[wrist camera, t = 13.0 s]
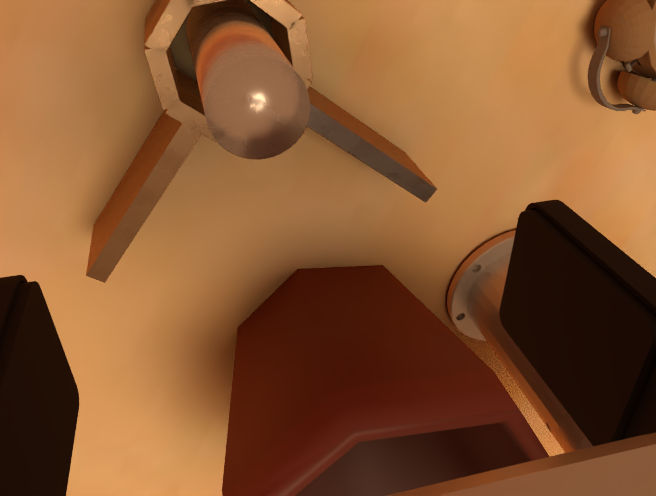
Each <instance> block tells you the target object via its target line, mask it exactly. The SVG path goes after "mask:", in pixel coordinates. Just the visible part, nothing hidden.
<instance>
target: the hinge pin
mask: <svg viewBox="0 0 656 496" xmlns="http://www.w3.org/2000/svg"><path fill="white" fill-rule="evenodd" d="M187 37H188V41H189V46H190V50H191V55H192V59H193V64H194V68H195V73H196V77H197V82H198V86H199V91H200V95H201V100H202V104H203V108H204V113H205V117H206V122H207V125H208V128H209V130H210V132H211V134H212V135H213V137H214V139H215V140H216V141H217V142H218V143H219V144H220V145H221V146H222V147H223V148H224V149H226V150H227V151H229V152H230V153H232V154H234V155H236V156H239V157H242V158H247V159H265V158H270V157H274V156H276V155H279V154H281V153H283V152H284V151H286V150H287V149H289V148H290V147H291V146H292V145H294V144H295V143H296V142H297V140H298V139H299V138H300V137H301V135H302V134H303V132H304V130H305V128H306V126H307V123H308V120H309V115H310V99H309V94H308V91H307V88H306V86H305V84H304V82H303V81H302V79H301V78H300V76H299V75H298V73H297V72H296V71H295V69H294V68H293V66H292V65H291V64H290V62H289V61H288V59H287V58H286V57H285V55H284V54H283V52H282V51H281V49H280V48H279V47H278V45H277V44H276V42H275V41H274V40H273V38H272V37H271V35H270V34H269V33H268V31H267V30H266V28H265V27H264V26H263V24H262V23H261V21H260V20H259V19H258V17H257V16H256V14H255V13H254V11H253V10H252V9H251V7H250V6H249V5H248V4H247V3H246V2H245V1H244V0H224V1H218V2H213V3H208V4H202V5H197V6H194V7H193V8H192V10H191V12H190V14H189V16H188V20H187Z"/></svg>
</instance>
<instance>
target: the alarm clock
mask: <svg viewBox="0 0 656 496" xmlns="http://www.w3.org/2000/svg"><path fill="white" fill-rule="evenodd" d="M594 35H595V39H596V42H597V46H596V49H595V51H594V53H593V56H592V58H591V61H590V65H589V69H588V84H589V89H590V91H591V94H592V96H593V97H594V99H595V100H596V101H597V102H598V103H599V104H601V105H602V106H604V107H607V108H609V109H612V110H615V111H625V110H632V113H634V114H638V113H640V111H641V110H642V111H646V110H644V109H647V110H656V0H607V1H606V2H605V3H604V4H603V5H602V6H601V8H600V9H599V11H598V14H597V16H596V19H595V25H594ZM605 55H606V56H608V57H610V58H611V59H613V60H617V61H624V62H625V64H624V65H625V68H626V70H627V72H625V71H621V73H620V75H619V78H618V84H617V85H618V90H619V92H620V94H621V95H622V96H623V97H624V98H625V99H626V100H627V101H628V102H630V103H631V104H633V105H635V106H633V105H630V104H617V105H612V104H610V103H609V102H607V100H606V99H605V97H604V96H603V93H602V90H601V86H600V70H601V66H602V63H603V60H604V57H605ZM630 71H633V72H635V73H637V74H639V75H641V76H643V77H646V78H651V79H652V80H649V79H646V78H643V77H641V76H638V75H635V74H632V73H629V72H630ZM642 108H643V109H642Z"/></svg>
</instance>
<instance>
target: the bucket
mask: <svg viewBox="0 0 656 496" xmlns="http://www.w3.org/2000/svg"><path fill="white" fill-rule="evenodd" d="M546 457H549V455H548V454H547V452H546V450H545V449H544V447H543V446H542V444H541V443H540V441H539V440H538V438H537V436H536V435H535V433H534V432H533V430H532V429H531V427H530V426H529V424H528V422H527V421H526V419H525V418H524V416H523V415H522V413H521V412H520V410H519V408H518V407H517V405H516V404H515V403H514V401H513V400H512V398H511V397H510V395H509V394H508V392H507V391H506V389H505V388H504V386H503V385H502V383H501V382H500V380H499V379H498V377H497V376H496V374H495V373H494V372H493V371H492V370H491V369H490V368H489V367H488V366H487V365H486V364H485V363H484V362H483V361H482V360H481V359H480V358H479V357H478V356H477V355H476V354H475V353H474V352H473V351H472V350H470V349H469V348H468V347H467V346H466V345H465V344H464V343H463V342H462V341H461V340H460V339H459V338H458V337H457V336H456V335H455V334H454V333H453V332H452V331H451V330H450V329H449V328H448V327H447V326H445V325H444V324H443V323H442V322H441V321H440V320H439V319H438V318H437V317H436V316H435V315H434V314H433V313H432V312H431V311H430V310H429V309H428V308H427V307H426V306H425V305H424V304H423V303H421V302H420V301H419V300H418V299H417V298H416V297H415V296H414V295H413V294H412V293H411V292H410V291H409V290H408V289H407V288H406V287H405V286H404V285H403V284H402V283H401V282H400V281H399V280H398V279H396V278H395V277H394V276H393V275H392V274H391V273H390V272H389V271H388V270H387V269H386V268H385V267H384V266H383V265H377V266H355V267H333V268H311V269H297V270H296V271H295V272H294V273H293V274H292V275H291V276H290V277H289V278H288V279H287V280H286V281H285V282H284V283H283V284H282V285H281V286H280V287H279V288H278V289H277V290H276V291H275V292H274V293H273V294H272V295H271V296H270V297H269V298H268V299H267V300H266V301H265V302H264V303H263V304H262V305H260V306H259V307H258V308H257V309H256V310H255V311H254V312H253V313H252V314H251V315H250V316H249V317H248V318H247V319H246V320H245V321H244V322H243V323H242V324H241V325H240V326H239V327H238V331H237V342H236V352H235V362H234V373H233V383H232V393H231V403H230V414H229V424H228V434H227V445H226V455H225V465H224V475H223V486H222V494H223V496H387V495H392V494H396V493H400V492H404V491H408V490H412V489H416V488H421V487H425V486H429V485H433V484H437V483H441V482H446V481H450V480H454V479H458V478H462V477H466V476H471V475H475V474H479V473H483V472H487V471H491V470H496V469H500V468H504V467H508V466H512V465H517V464H521V463H525V462H529V461H534V460H538V459H542V458H546Z"/></svg>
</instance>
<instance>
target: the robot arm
mask: <svg viewBox="0 0 656 496" xmlns="http://www.w3.org/2000/svg"><path fill="white" fill-rule="evenodd" d="M447 308H448V313H449V315H450V318H451V320H452V321H453V323H454V324H455V326H456V327H457V329H458V330H459V331H460V332H462V333H463V334H464V335H466V336H468V337H470V338H472V339H476V340H480V341H487V342H488V344H489V345H490V347H491V348H492V349H493V351H494V352H495V354H496V355H497V357H498V358H499V359H500V361H501V362H502V364H503V365H504V366H505V368H506V369H507V371H508V372H509V374H510V375H511V376H512V378H513V379H514V381H515V382H516V384H517V385H518V386H519V388H520V389H521V391H522V392H523V393H524V395H525V396H526V398H527V399H528V401H529V402H530V403H531V405H532V406H533V408H534V409H535V411H536V412H537V413H538V415H539V416H540V418H541V419H542V420H543V422H544V423H545V425H546V426H547V428H548V429H549V430H550V432H551V433H552V435H553V436H554V437H555V439H556V440H557V441H558V443H559V444H560V446H561V447H562V449H563V450H564V452H565V453H564V454H559V455H555V456H551V457H546V458H542V459H538V460H534V461H529V462H525V463H521V464H517V465H512V466H508V467H504V468H500V469H496V470H491V471H487V472H483V473H479V474H475V475H471V476H466V477H462V478H458V479H454V480H450V481H446V482H441V483H437V484H433V485H429V486H425V487H421V488H416V489H412V490H408V491H404V492H400V493H396V494H392V495H387V496H656V278H655V277H654V276H652V275H651V274H650V273H649V272H647V271H646V270H645V269H644V268H642V267H641V266H640V265H639V264H638V263H636V262H635V261H634V260H633V259H631V258H630V257H629V256H628V255H627V254H625V253H624V252H623V251H622V250H620V249H619V248H618V247H617V246H616V245H614V244H613V243H612V242H611V241H609V240H608V239H607V238H606V237H604V236H603V235H602V234H601V233H600V232H598V231H597V230H596V229H595V228H593V227H592V226H591V225H590V224H589V223H587V222H586V221H585V220H584V219H582V218H581V217H580V216H579V215H577V214H576V213H575V212H574V211H573V210H571V209H570V208H569V207H568V206H566V205H565V204H564V203H563V202H561V201H559V200H550V201H543V202H536V203H531V204H529V205H528V206H527V208H526V210H525V211H523V212H521V214H520V215H519V218H518V223H517V228H516V230H514V231H510V232H507V233H505V234H502V235H500V236H497V237H495V238H494V239H492V240H490V241H489V242H487V243H485V244H484V245H482V246H481V247H480V248H478V249H477V250H476V251H475V252H473V253H472V254H471V255H470V256H469V257H468V259H467V260H466V261H465V262H464V263H463V264H462V266H461V267H460V268H459V270H458V271H457V272H456V274H455V276H454V278H453V280H452V282H451V285H450V288H449V291H448V296H447ZM78 410H79V394H78V389H77V385H76V383H75V380H74V377H73V374H72V372H71V369H70V366H69V364H68V361H67V358H66V356H65V353H64V350H63V347H62V345H61V342H60V339H59V337H58V334H57V331H56V328H55V326H54V323H53V320H52V318H51V315H50V312H49V309H48V307H47V304H46V301H45V299H44V296H43V293H42V290H41V288H40V286H39V284H38V283H37V282H36V281H33V282H27V280H26V278H25V277H24V276H22V275H17V276H10V277H3V278H0V496H66V491H67V484H68V477H69V471H70V464H71V457H72V451H73V444H74V437H75V430H76V424H77V417H78Z"/></svg>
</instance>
